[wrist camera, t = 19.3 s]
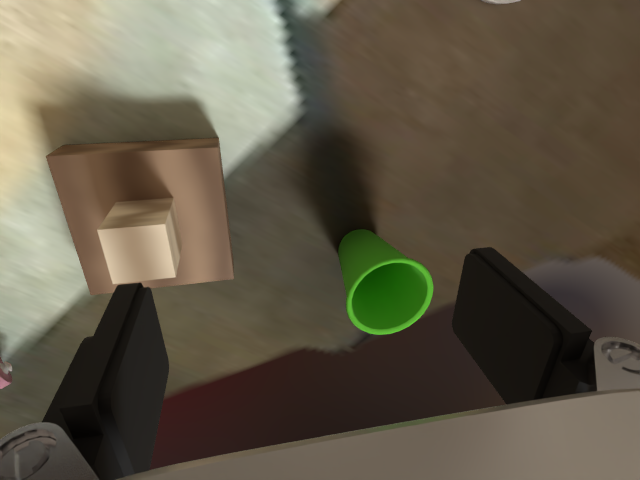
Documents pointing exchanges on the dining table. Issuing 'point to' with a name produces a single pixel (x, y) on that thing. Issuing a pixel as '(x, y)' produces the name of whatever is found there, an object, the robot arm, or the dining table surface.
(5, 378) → the video game controller
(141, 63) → the dining table surface
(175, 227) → the birch block
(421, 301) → the cup
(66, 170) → the walnut block
